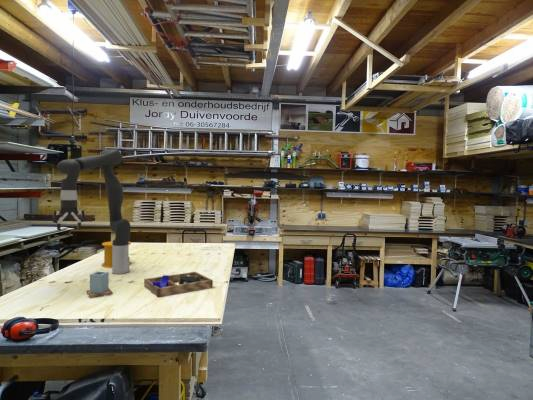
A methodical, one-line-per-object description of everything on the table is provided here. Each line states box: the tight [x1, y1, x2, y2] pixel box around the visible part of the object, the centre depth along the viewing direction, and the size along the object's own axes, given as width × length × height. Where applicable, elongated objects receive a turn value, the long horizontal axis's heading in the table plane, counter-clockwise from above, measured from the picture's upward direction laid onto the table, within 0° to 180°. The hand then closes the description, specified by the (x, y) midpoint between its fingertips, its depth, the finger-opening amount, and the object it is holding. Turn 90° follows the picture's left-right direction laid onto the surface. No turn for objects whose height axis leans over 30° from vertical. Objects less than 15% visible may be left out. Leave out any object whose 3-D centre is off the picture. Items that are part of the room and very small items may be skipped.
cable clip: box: [153, 274, 170, 288], centre depth 178 cm, size 12×4×6 cm, turn 171°
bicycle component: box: [178, 275, 204, 285], centre depth 188 cm, size 12×7×15 cm
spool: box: [101, 240, 132, 269], centre depth 232 cm, size 18×18×15 cm
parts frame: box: [143, 271, 214, 298], centre depth 184 cm, size 30×21×4 cm
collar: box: [89, 271, 110, 294], centre depth 170 cm, size 6×6×9 cm
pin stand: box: [85, 288, 114, 299], centre depth 170 cm, size 10×10×8 cm
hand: (69, 230), depth 177 cm, fingers open, 8 cm apart
